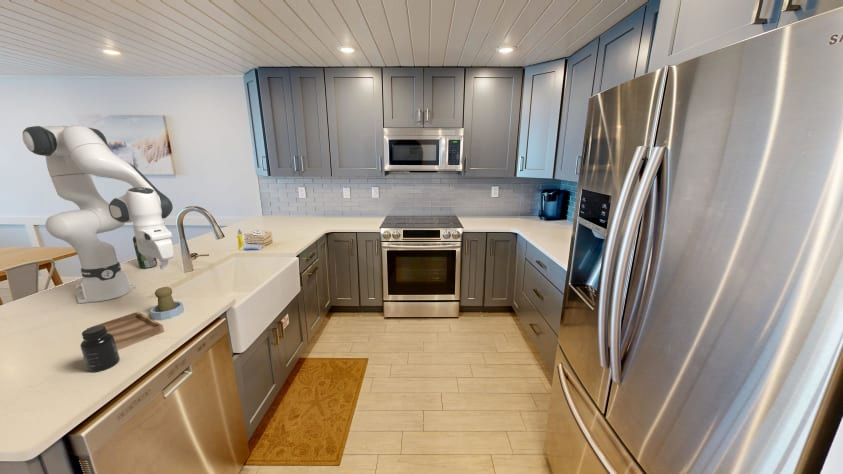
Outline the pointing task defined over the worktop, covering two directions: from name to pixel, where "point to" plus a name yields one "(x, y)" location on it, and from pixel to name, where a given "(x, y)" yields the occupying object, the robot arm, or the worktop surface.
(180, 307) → the light blue shallow dish
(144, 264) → the coffee jar
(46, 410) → the worktop surface
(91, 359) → the supplement bottle
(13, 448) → the worktop surface
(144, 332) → the tray
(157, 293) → the cork
